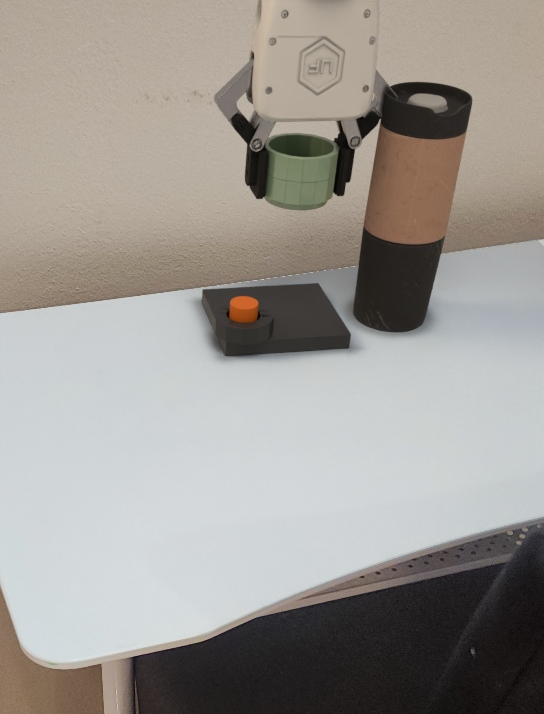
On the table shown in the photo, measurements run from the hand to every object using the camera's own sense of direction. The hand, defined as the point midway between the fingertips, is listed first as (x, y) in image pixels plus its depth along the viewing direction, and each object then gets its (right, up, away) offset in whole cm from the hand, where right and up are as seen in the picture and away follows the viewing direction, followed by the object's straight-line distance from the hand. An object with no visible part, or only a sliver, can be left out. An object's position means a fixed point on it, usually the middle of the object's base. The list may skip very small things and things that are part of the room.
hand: (296, 190), depth 90 cm
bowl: (0, 0, 0) cm, 1 cm away
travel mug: (+10, -8, +9) cm, 16 cm away
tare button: (-5, -11, +2) cm, 12 cm away
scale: (-1, -10, +7) cm, 12 cm away
